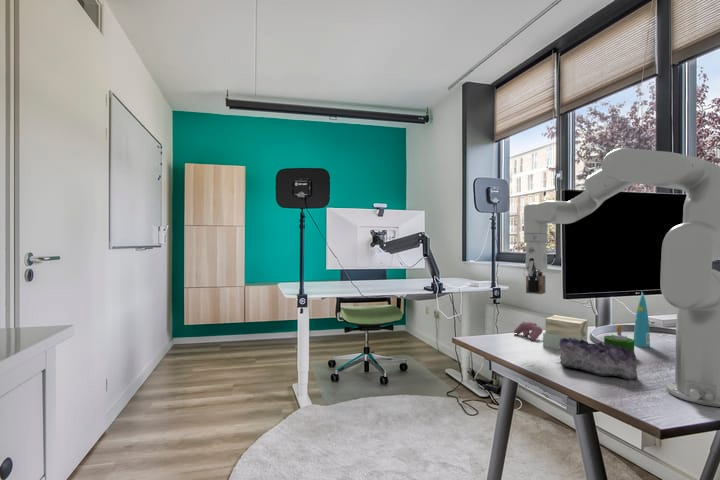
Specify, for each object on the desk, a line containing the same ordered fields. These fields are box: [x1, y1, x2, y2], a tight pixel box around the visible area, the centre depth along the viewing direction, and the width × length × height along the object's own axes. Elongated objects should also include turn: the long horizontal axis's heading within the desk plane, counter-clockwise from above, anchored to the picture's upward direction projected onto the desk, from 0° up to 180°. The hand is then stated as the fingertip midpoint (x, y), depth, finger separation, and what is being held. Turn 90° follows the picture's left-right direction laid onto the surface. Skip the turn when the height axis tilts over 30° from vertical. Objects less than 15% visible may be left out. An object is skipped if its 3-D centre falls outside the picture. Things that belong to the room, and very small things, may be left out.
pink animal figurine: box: [513, 321, 543, 341], centre depth 150 cm, size 10×5×7 cm, turn 22°
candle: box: [603, 324, 635, 352], centre depth 128 cm, size 8×8×10 cm
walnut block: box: [525, 274, 546, 295], centre depth 135 cm, size 5×5×6 cm
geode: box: [559, 338, 639, 381], centre depth 113 cm, size 20×12×10 cm, turn 52°
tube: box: [633, 291, 651, 348], centre depth 139 cm, size 7×5×19 cm, turn 150°
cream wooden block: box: [544, 314, 589, 338], centre depth 138 cm, size 9×11×5 cm
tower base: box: [542, 331, 588, 350], centre depth 138 cm, size 10×12×5 cm
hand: (535, 290), depth 135 cm, fingers closed on walnut block, 5 cm apart
